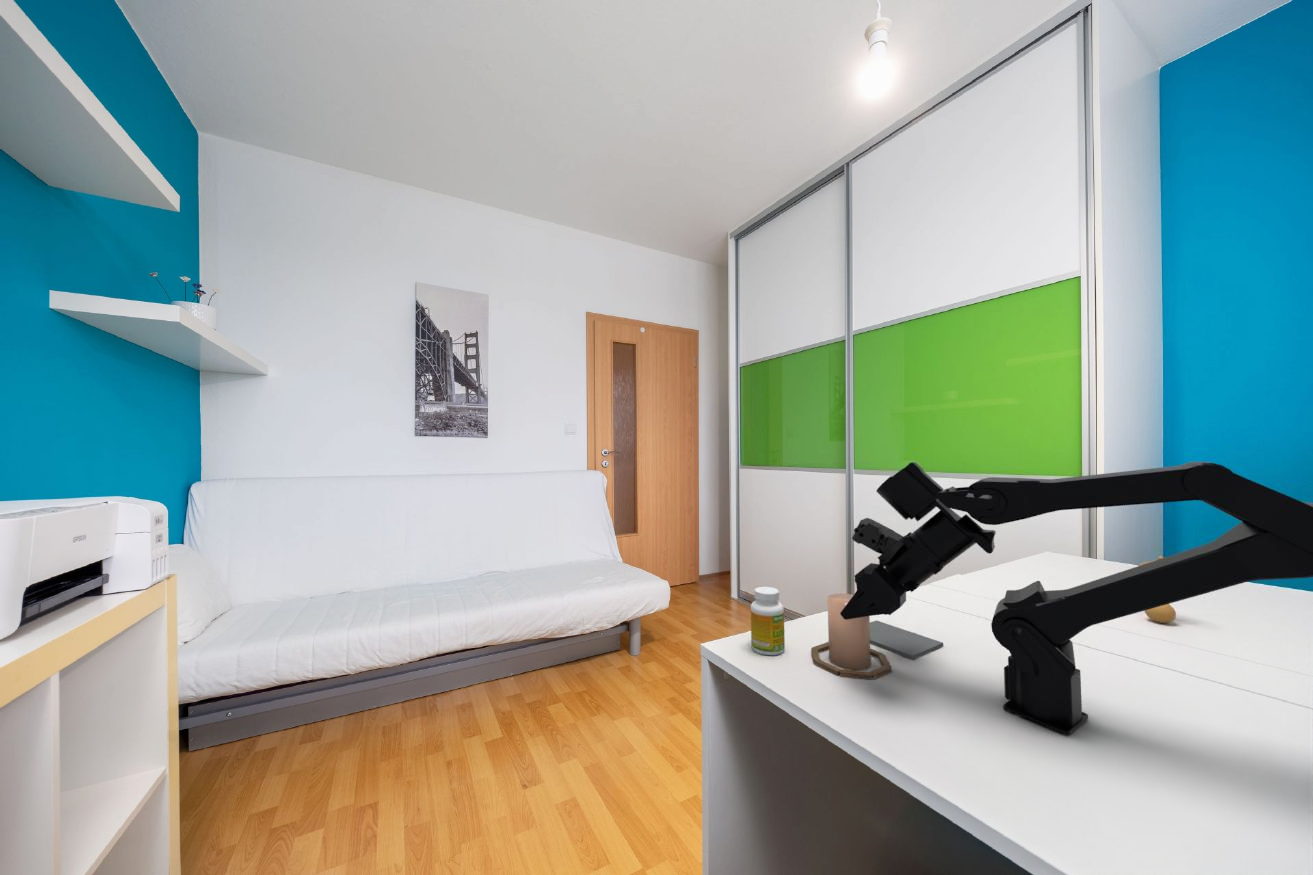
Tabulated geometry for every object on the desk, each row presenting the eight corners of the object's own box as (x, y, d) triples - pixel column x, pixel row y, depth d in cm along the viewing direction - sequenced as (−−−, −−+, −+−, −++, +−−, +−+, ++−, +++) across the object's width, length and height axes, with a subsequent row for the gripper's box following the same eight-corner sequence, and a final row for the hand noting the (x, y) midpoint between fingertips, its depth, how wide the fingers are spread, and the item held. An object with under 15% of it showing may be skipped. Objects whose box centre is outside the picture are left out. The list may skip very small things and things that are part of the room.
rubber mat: (943, 646, 76) (943, 642, 76) (912, 659, 72) (912, 655, 72) (876, 623, 87) (876, 620, 87) (845, 633, 82) (845, 630, 82)
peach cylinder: (879, 663, 71) (877, 601, 71) (854, 674, 67) (852, 608, 68) (845, 649, 76) (843, 591, 76) (820, 658, 73) (819, 597, 73)
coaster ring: (904, 665, 70) (904, 661, 70) (858, 685, 64) (858, 681, 64) (842, 640, 79) (841, 637, 79) (797, 656, 73) (797, 652, 73)
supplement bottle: (777, 659, 73) (775, 597, 73) (745, 650, 76) (744, 591, 76) (789, 647, 77) (788, 588, 77) (759, 639, 80) (758, 583, 80)
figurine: (1125, 617, 88) (1122, 554, 88) (1137, 611, 91) (1135, 550, 91) (1189, 632, 81) (1186, 563, 81) (1201, 625, 84) (1198, 559, 84)
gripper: (902, 496, 76) (835, 554, 82) (869, 509, 61) (791, 577, 68) (960, 551, 70) (883, 608, 77) (939, 579, 56) (847, 646, 63)
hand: (852, 607), depth 71 cm, fingers open, 9 cm apart
